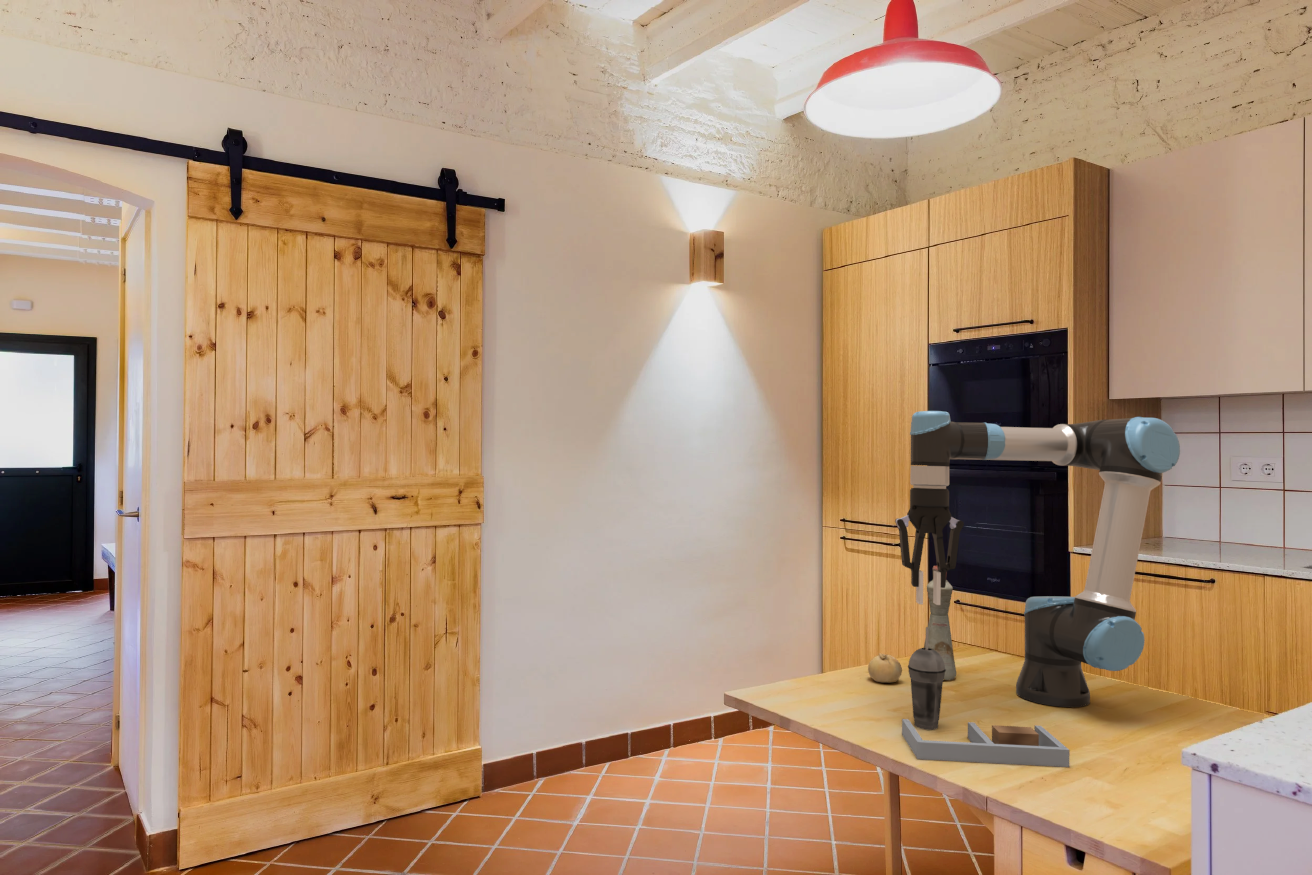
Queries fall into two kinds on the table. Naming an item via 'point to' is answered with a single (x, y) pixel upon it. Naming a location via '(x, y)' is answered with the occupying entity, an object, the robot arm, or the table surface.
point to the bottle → (941, 628)
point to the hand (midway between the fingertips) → (928, 603)
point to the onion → (884, 668)
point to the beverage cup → (926, 686)
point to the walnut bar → (1014, 735)
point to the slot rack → (988, 748)
